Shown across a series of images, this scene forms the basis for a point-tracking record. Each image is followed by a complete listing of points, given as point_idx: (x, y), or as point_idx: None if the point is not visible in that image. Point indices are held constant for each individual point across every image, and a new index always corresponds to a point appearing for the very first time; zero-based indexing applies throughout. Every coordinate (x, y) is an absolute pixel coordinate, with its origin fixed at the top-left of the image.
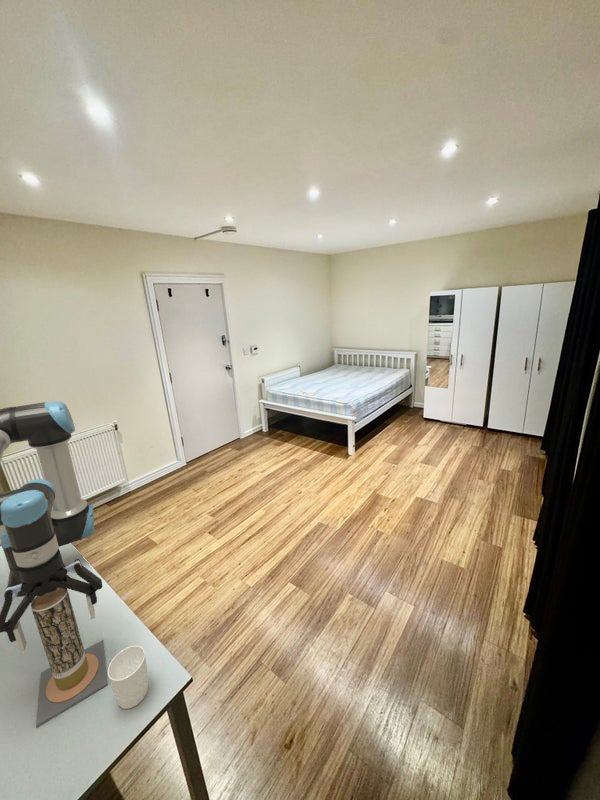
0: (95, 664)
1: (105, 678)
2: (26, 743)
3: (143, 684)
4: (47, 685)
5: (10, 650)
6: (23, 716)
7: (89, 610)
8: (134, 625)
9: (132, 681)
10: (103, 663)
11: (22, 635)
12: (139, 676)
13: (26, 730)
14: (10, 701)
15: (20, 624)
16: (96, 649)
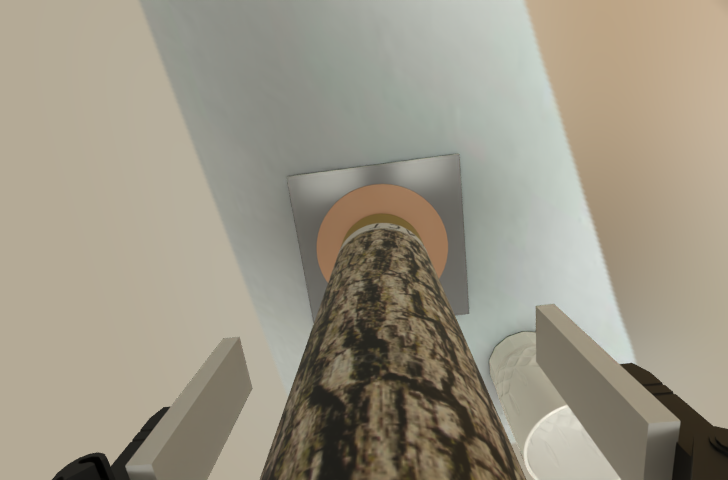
0: (440, 247)
1: (464, 296)
2: (303, 347)
3: (570, 413)
4: (317, 242)
5: (152, 5)
6: (277, 282)
7: (569, 404)
8: (559, 141)
9: (572, 468)
10: (459, 248)
11: (215, 405)
12: (590, 457)
13: (295, 319)
14: (230, 221)
15: (174, 434)
16: (439, 183)
